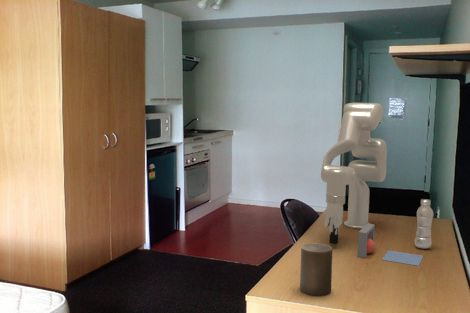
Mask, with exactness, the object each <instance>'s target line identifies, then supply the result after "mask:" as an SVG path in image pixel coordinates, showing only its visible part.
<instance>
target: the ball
mask: <svg viewBox="0 0 470 313" xmlns="http://www.w3.org/2000/svg"><path fill="white" fill-rule="evenodd" d="M374 249H375V241H374V242H373V241H372V240H371V239H370V238H367V254H370V253H373V251H374Z"/></svg>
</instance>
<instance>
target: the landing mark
mask: <svg viewBox="0 0 470 313" xmlns="http://www.w3.org/2000/svg"><path fill="white" fill-rule="evenodd" d="M423 257H424V255H421V254H420V255H419V254H413V253H407V252H401V251H394V250H387V251H386V253H385V255H384V256H383V257H382V259H381V261H386V262H391V263H398V264H404V265H409V266H416V267H419V266H420V264H421V262H422V261H423Z"/></svg>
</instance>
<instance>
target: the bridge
mask: <svg viewBox="0 0 470 313" xmlns="http://www.w3.org/2000/svg"><path fill="white" fill-rule="evenodd" d="M375 230H376V225H375V224H373V223H371V224H366V225H365V226H364V227H363V228H362V229H360V230H359V231H358V234H357V254H356V256H357V258H362V259H366V257H367V255H368V253H367V238H370V239H371V240H372V241H373V242H374V243H375Z"/></svg>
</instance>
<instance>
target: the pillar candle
mask: <svg viewBox="0 0 470 313" xmlns="http://www.w3.org/2000/svg"><path fill="white" fill-rule="evenodd" d="M300 248H301V250H300V275H299V276H300V277H299V278H300V282H299V283H300V284H299V289H300V291H301V292H302V293H304V294H306V295H311V296H318V297H319V296H326V295H328V294H329V295H330V294H332V293H331V292H332V277H333V276H332V275H333V274H332V273H333V271H332V270H333V247H332V246H331V245H329V244H325V243H320V242H319V243H318V242H314V243H313V242H312V243H311V242H310V243H305V244H302V245H301V246H300Z"/></svg>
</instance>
